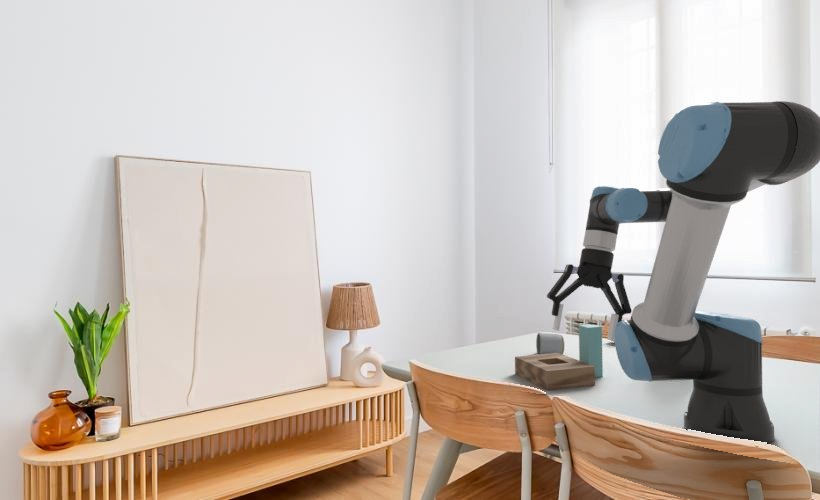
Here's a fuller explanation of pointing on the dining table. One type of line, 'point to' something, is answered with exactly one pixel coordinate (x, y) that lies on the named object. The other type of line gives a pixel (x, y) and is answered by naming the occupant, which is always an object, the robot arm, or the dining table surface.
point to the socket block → (555, 371)
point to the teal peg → (591, 347)
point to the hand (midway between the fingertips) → (583, 335)
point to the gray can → (549, 343)
